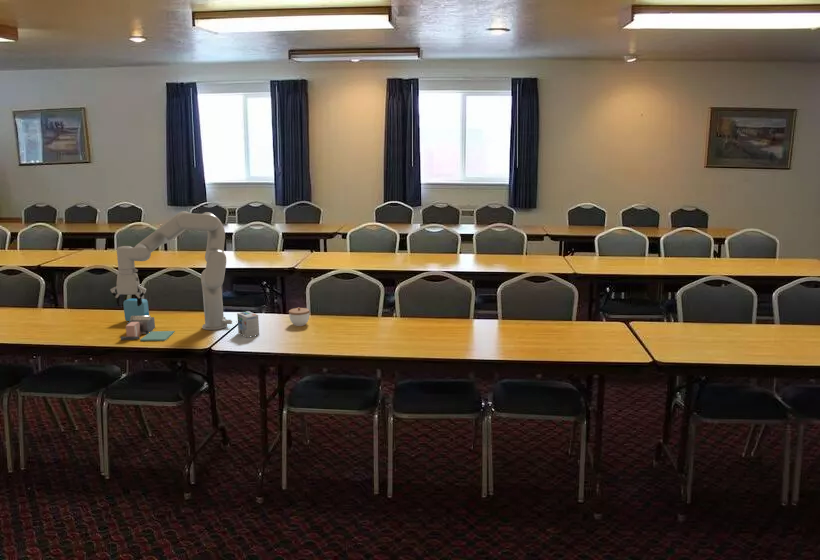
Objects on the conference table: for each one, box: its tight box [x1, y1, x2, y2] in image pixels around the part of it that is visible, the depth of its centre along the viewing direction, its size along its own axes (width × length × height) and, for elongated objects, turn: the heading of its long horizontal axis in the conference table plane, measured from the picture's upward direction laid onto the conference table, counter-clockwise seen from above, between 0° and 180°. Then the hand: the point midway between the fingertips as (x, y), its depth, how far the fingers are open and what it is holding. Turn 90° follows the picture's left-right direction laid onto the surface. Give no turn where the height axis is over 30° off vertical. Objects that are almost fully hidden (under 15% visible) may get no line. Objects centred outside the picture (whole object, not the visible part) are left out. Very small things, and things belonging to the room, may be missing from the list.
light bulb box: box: [236, 310, 260, 338], centre depth 331 cm, size 11×7×11 cm, turn 40°
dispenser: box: [120, 315, 156, 341], centre depth 334 cm, size 10×20×8 cm, turn 1°
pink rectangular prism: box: [125, 322, 141, 337], centre depth 329 cm, size 4×7×7 cm, turn 1°
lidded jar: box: [288, 306, 310, 327], centre depth 348 cm, size 11×11×9 cm
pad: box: [139, 330, 175, 342], centre depth 329 cm, size 12×14×1 cm
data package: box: [122, 298, 150, 322], centre depth 357 cm, size 12×4×12 cm, turn 79°
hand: (129, 305), depth 326 cm, fingers open, 9 cm apart
